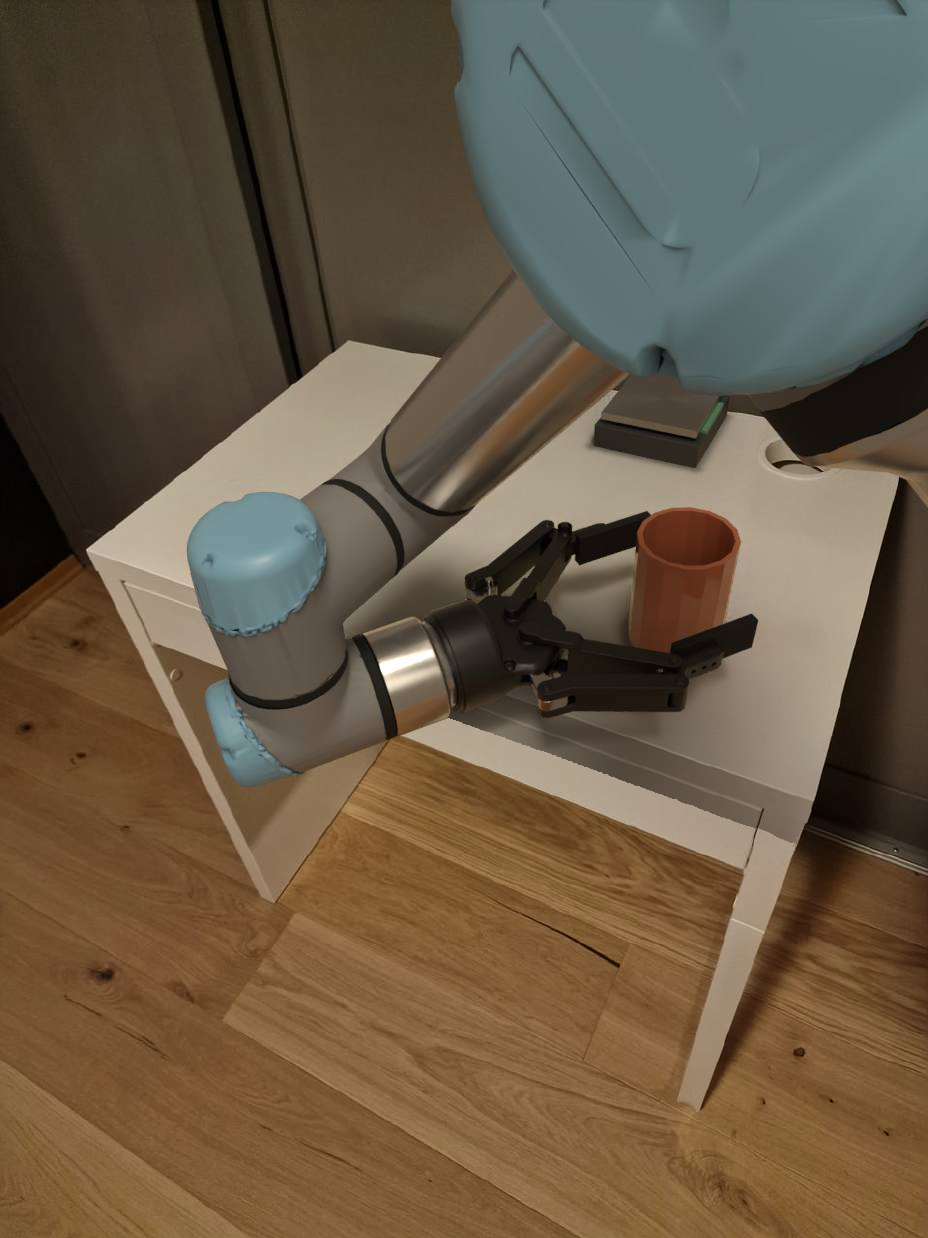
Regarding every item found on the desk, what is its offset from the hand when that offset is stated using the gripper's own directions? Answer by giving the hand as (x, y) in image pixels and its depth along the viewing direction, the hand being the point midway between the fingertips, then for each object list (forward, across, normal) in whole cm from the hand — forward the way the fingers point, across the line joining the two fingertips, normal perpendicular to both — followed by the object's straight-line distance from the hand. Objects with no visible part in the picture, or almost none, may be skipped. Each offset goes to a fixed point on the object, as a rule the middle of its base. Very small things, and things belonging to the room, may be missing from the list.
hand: (696, 574), depth 64 cm
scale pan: (+14, -27, -3) cm, 31 cm away
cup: (-1, 0, -6) cm, 6 cm away
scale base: (+14, -27, -6) cm, 31 cm away
